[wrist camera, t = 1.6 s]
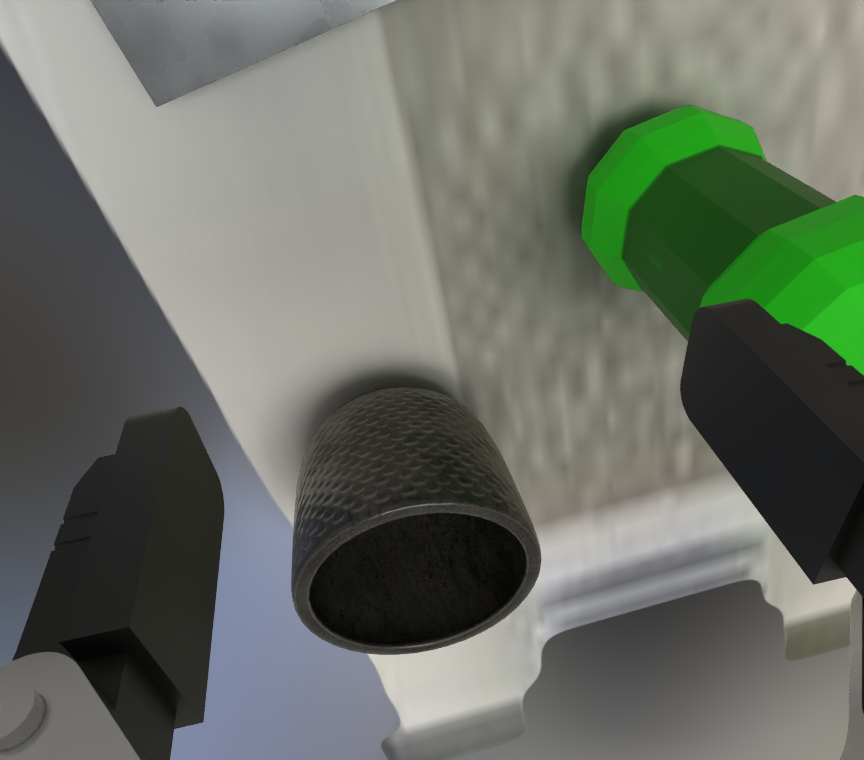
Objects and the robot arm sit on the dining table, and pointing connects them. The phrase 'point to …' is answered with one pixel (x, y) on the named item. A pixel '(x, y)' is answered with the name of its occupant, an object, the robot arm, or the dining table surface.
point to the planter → (407, 527)
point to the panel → (214, 35)
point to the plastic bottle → (725, 229)
